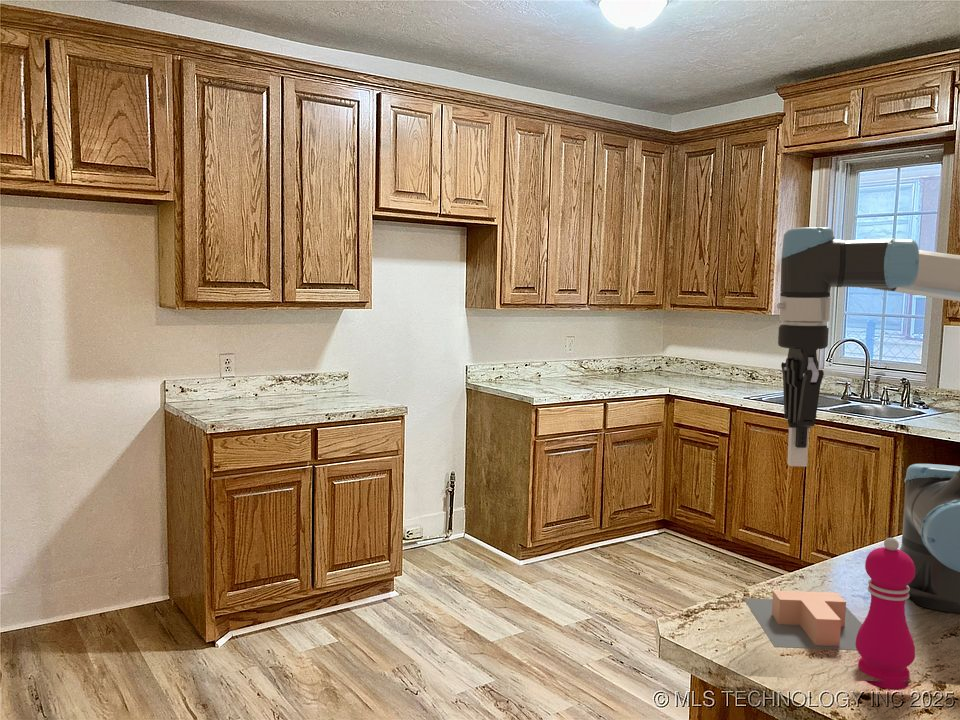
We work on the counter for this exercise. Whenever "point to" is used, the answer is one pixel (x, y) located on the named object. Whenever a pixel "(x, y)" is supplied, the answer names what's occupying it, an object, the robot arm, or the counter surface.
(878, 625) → the pepper mill
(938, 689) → the counter surface
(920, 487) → the robot arm
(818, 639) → the t block
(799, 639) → the mat
